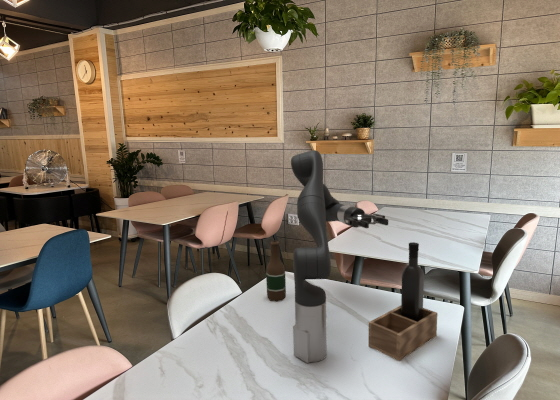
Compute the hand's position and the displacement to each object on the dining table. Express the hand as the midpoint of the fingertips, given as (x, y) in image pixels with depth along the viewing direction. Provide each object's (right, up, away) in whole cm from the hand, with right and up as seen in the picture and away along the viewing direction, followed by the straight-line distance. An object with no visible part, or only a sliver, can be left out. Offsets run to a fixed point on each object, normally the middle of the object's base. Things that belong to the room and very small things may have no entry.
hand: (377, 223), depth 135 cm
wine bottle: (+9, -35, -10) cm, 37 cm away
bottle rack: (+5, -36, -13) cm, 39 cm away
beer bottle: (-36, -32, +23) cm, 53 cm away
